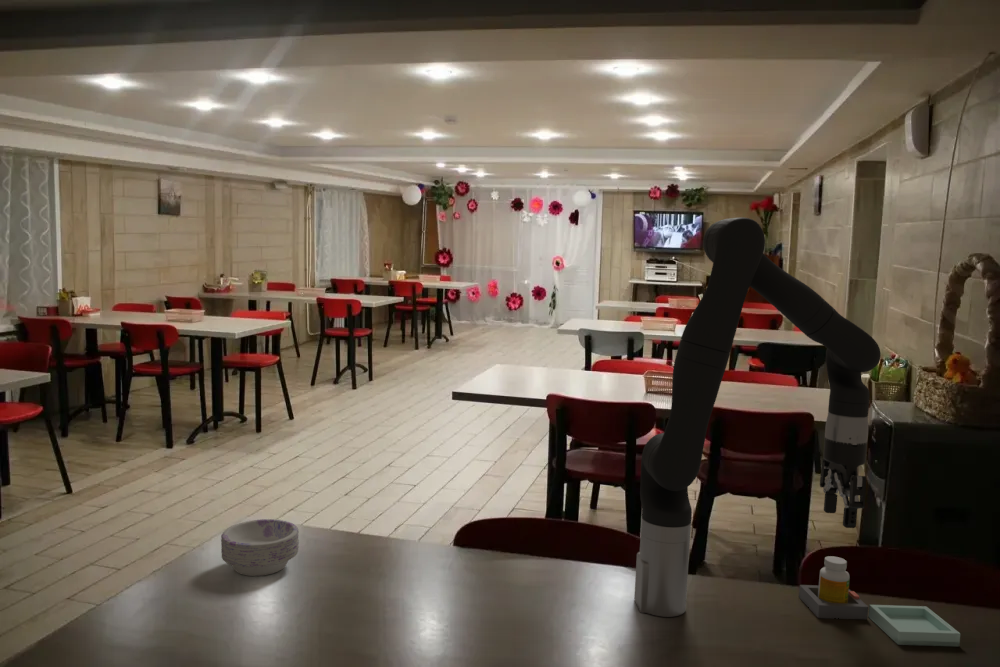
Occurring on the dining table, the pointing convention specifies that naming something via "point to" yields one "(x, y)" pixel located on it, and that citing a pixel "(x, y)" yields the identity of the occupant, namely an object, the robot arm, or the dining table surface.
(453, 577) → the dining table surface
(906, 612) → the tray
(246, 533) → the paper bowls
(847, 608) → the socket collar
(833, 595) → the supplement bottle
